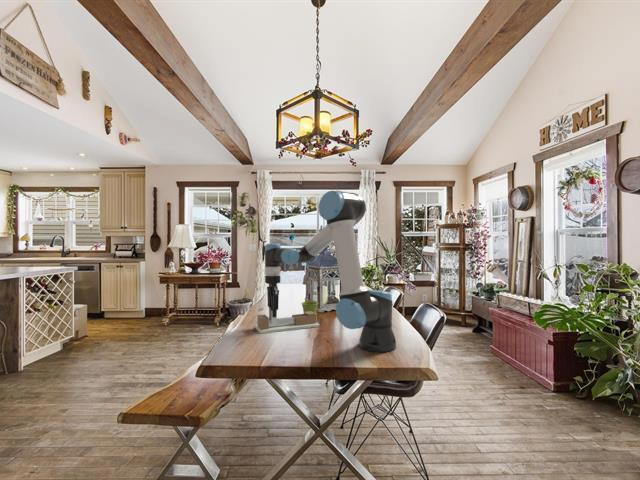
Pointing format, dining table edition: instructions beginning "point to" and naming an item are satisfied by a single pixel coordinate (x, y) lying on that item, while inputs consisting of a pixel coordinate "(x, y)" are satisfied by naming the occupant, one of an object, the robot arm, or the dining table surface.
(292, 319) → the slide bar
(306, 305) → the plant pot
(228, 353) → the dining table surface
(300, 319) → the board
